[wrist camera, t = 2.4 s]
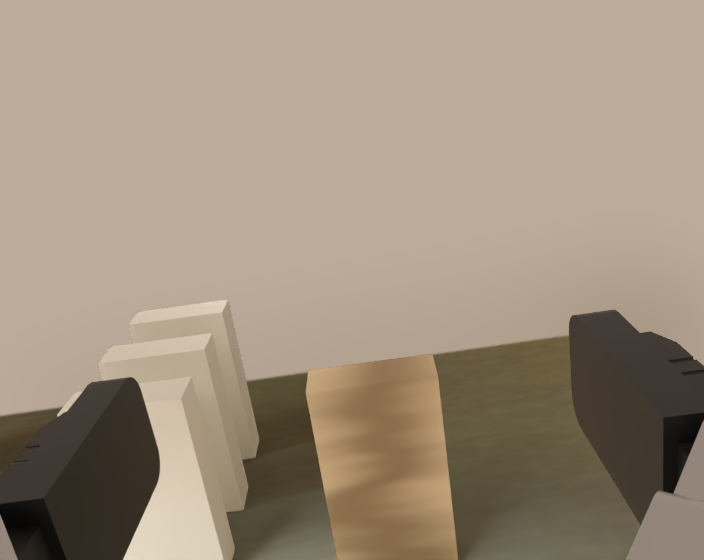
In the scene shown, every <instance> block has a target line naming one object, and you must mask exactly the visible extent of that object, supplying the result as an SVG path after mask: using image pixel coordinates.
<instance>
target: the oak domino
mask: <svg viewBox="0 0 704 560" xmlns="http://www.w3.org/2000/svg"><path fill="white" fill-rule="evenodd" d="M306 397H307V402H308V408H309V413H310V418H311V423H312V429H313V434H314V439H315V445H316V450H317V455H318V460H319V466H320V471H321V476H322V481H323V487H324V492H325V497H326V502H327V508H328V513H329V518H330V524H331V529H332V534H333V539H334V545H335V550H336V555H337V560H458V553H457V544H456V535H455V526H454V516H453V507H452V498H451V489H450V480H449V471H448V462H447V453H446V444H445V435H444V426H443V417H442V408H441V399H440V390H439V381H438V374H437V370H436V367H435V363H434V359H433V356H432V354H428V355H421V356H413V357H406V358H398V359H390V360H382V361H375V362H367V363H359V364H352V365H344V366H336V367H329V368H321V369H314V370H308V378H307V386H306Z"/></svg>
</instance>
